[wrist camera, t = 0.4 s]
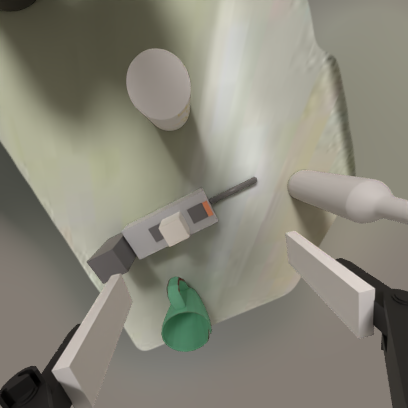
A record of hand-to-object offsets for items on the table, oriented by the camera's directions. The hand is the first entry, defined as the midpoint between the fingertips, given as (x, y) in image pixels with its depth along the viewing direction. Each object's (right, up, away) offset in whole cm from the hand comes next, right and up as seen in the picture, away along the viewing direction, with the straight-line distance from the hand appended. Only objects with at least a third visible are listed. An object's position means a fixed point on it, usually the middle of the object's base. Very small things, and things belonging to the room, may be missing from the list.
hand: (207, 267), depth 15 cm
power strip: (-2, +4, +26) cm, 27 cm away
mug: (-5, -15, +31) cm, 35 cm away
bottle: (+21, +9, +27) cm, 36 cm away
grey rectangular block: (-17, -3, +27) cm, 32 cm away
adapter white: (-6, +1, +23) cm, 23 cm away
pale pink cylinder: (-7, +23, +21) cm, 32 cm away
